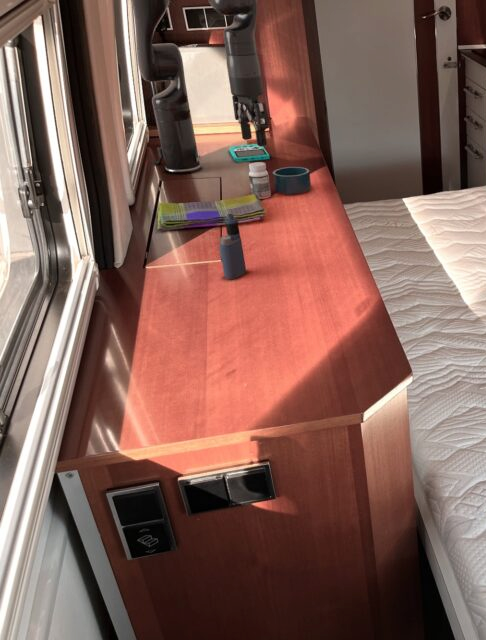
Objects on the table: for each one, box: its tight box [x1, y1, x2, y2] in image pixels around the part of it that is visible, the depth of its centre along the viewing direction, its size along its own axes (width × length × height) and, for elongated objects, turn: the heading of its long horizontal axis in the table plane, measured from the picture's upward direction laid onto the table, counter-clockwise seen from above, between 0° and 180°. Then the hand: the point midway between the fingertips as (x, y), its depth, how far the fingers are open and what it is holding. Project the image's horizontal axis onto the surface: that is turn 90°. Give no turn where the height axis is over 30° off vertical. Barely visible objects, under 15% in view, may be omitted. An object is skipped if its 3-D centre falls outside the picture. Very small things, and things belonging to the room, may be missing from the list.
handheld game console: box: [229, 143, 271, 163], centre depth 246 cm, size 10×16×1 cm, turn 24°
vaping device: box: [218, 214, 247, 280], centre depth 159 cm, size 3×5×12 cm, turn 161°
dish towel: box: [157, 194, 268, 231], centre depth 194 cm, size 18×24×3 cm
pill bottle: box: [248, 161, 272, 200], centre depth 207 cm, size 5×5×8 cm
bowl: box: [272, 166, 312, 196], centre depth 213 cm, size 9×9×5 cm
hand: (254, 142), depth 202 cm, fingers open, 8 cm apart
